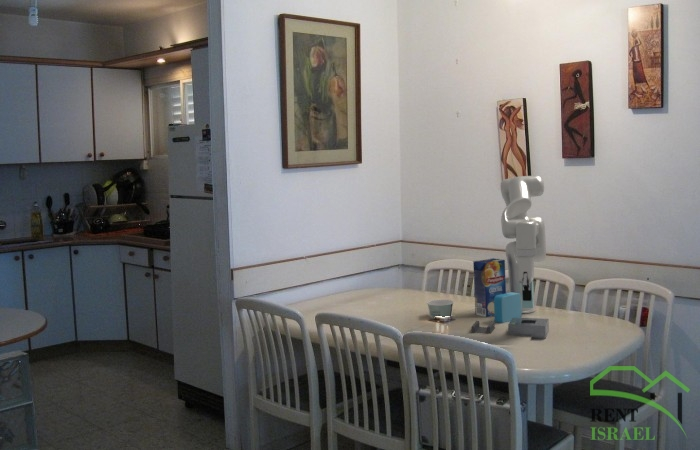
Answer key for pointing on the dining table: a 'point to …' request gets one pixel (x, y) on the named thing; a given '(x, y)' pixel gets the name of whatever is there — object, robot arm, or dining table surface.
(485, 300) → the juice carton
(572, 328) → the dining table surface
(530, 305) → the teal plug
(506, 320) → the data package
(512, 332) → the port block
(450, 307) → the food container
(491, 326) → the bracket
